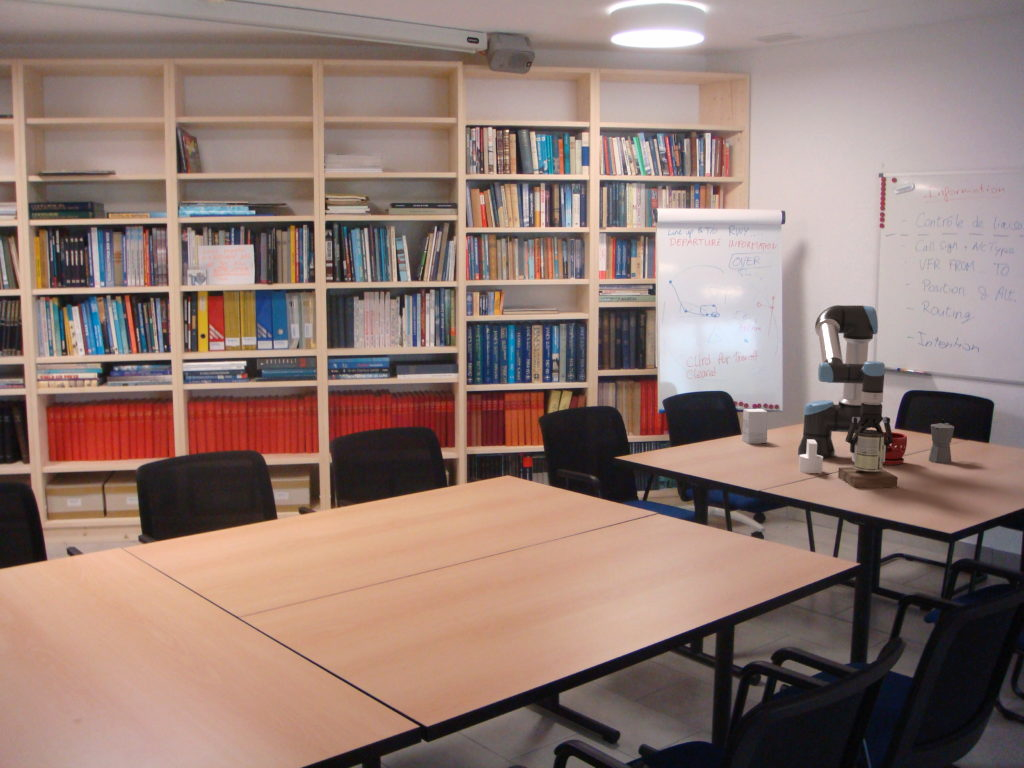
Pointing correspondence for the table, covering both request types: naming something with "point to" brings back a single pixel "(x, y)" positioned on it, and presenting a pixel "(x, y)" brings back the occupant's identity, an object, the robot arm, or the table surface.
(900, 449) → the plant pot
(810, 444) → the base with upright slab
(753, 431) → the supplement box
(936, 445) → the coffeepot
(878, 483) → the walnut plinth
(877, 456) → the coffee can
